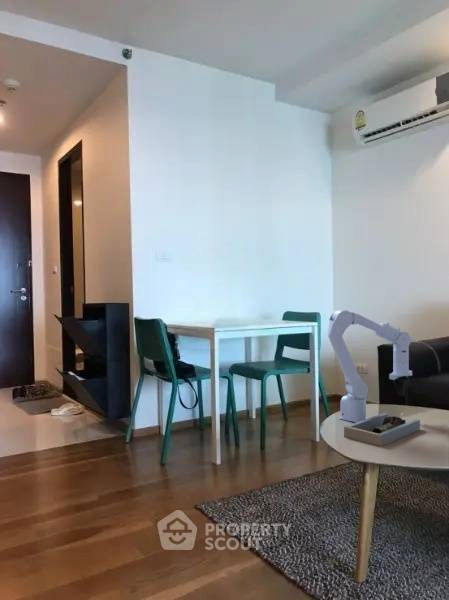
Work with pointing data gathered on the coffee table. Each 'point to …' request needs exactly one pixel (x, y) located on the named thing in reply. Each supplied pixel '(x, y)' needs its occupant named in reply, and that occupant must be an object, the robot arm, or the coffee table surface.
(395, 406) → the coffee table surface
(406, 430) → the grey rectangular tray
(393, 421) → the jagged brown rock
